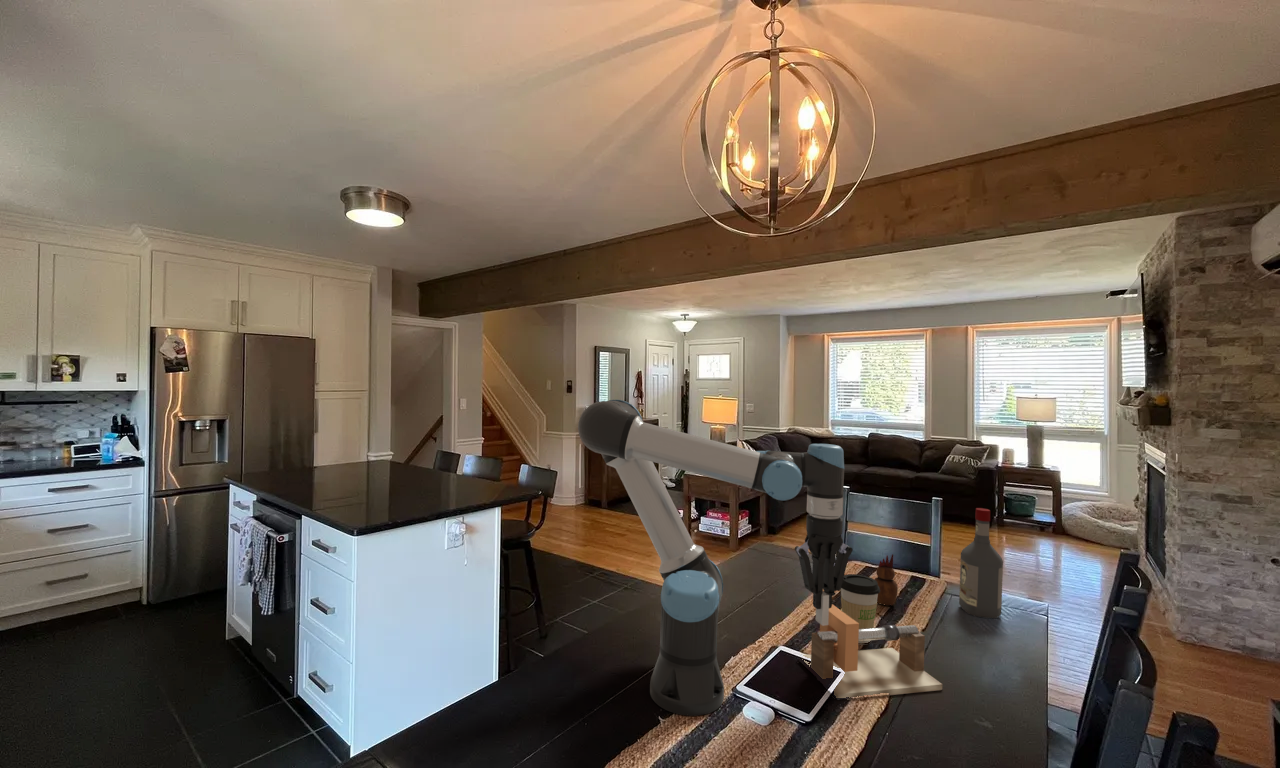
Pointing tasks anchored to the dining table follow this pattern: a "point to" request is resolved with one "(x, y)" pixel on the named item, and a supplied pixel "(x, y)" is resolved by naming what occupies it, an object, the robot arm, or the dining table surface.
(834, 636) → the pipe
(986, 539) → the liquor
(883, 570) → the wooden figurine
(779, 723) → the dining table surface
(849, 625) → the orange square ring
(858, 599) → the coffee cup
